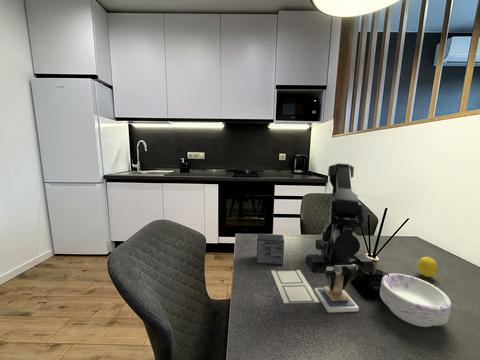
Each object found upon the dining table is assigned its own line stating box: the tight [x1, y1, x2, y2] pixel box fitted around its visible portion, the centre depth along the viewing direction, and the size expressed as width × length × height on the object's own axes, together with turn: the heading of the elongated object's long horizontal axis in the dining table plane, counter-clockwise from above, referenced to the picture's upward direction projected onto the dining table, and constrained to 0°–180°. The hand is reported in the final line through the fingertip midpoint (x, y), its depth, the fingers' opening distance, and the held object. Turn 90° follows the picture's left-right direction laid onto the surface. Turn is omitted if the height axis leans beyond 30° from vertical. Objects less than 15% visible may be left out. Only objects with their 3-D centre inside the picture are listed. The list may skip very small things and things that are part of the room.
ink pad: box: [314, 287, 360, 313], centre depth 66 cm, size 9×9×2 cm
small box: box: [255, 233, 285, 267], centre depth 87 cm, size 11×6×10 cm, turn 84°
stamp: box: [323, 271, 350, 302], centre depth 65 cm, size 5×5×7 cm
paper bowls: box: [379, 273, 453, 328], centre depth 61 cm, size 15×15×8 cm
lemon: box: [417, 256, 438, 278], centre depth 80 cm, size 6×6×8 cm
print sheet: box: [270, 269, 321, 305], centre depth 73 cm, size 11×17×1 cm, turn 5°
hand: (336, 289), depth 65 cm, fingers closed on stamp, 3 cm apart
